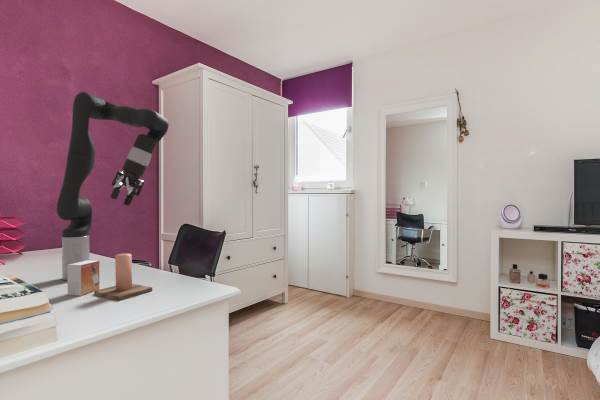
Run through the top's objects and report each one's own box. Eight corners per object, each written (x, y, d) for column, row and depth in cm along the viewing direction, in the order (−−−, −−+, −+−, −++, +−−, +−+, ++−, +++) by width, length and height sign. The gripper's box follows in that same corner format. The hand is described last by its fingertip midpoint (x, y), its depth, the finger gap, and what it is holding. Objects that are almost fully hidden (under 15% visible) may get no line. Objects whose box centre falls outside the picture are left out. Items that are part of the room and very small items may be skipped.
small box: (81, 296, 108) (80, 265, 108) (67, 295, 110) (66, 264, 109) (100, 289, 116) (99, 260, 116) (87, 288, 117) (86, 259, 117)
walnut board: (94, 294, 110) (94, 291, 110) (127, 285, 121) (127, 282, 121) (119, 300, 104) (119, 296, 104) (152, 290, 114) (152, 287, 114)
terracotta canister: (112, 290, 111) (112, 255, 111) (126, 286, 116) (125, 253, 115) (121, 292, 109) (121, 256, 109) (135, 288, 113) (134, 254, 113)
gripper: (117, 154, 122) (99, 193, 120) (140, 162, 115) (121, 204, 113) (134, 161, 128) (117, 199, 127) (157, 169, 121) (139, 209, 120)
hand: (119, 201), depth 120 cm, fingers open, 8 cm apart
